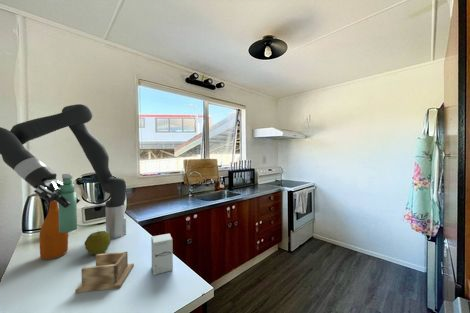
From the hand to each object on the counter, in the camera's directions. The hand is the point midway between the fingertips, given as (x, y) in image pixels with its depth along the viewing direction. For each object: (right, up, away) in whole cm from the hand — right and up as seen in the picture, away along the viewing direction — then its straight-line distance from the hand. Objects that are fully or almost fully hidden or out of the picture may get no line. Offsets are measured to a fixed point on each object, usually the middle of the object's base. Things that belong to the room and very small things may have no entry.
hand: (73, 203), depth 75 cm
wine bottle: (-23, -28, +18) cm, 41 cm away
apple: (-4, -28, +20) cm, 34 cm away
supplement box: (+31, -28, +6) cm, 42 cm away
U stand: (+13, -28, 0) cm, 31 cm away
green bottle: (-2, -10, 0) cm, 10 cm away
